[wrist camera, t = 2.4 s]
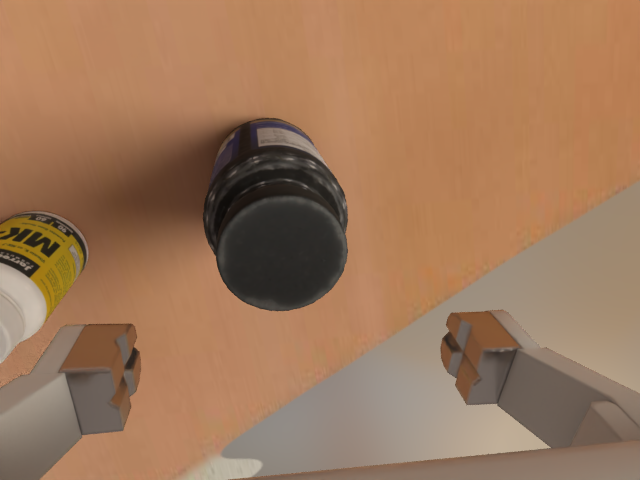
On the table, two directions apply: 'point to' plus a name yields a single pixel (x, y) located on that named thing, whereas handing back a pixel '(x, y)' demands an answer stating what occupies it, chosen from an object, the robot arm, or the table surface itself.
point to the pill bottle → (275, 217)
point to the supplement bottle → (35, 272)
